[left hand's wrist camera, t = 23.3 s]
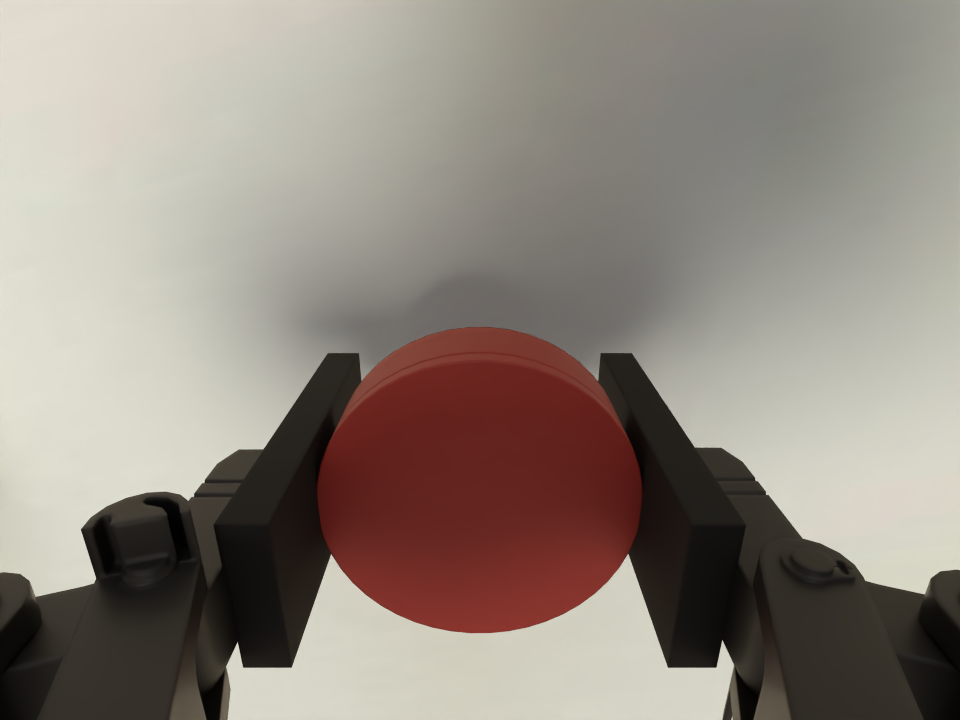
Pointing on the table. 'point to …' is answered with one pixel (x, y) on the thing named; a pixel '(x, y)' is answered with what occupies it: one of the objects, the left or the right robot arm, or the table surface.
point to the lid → (479, 483)
